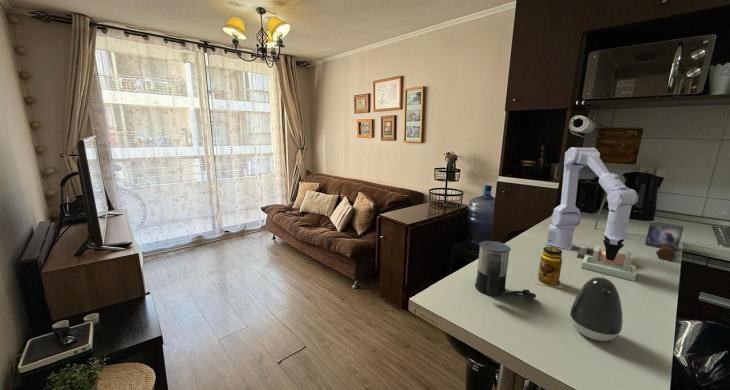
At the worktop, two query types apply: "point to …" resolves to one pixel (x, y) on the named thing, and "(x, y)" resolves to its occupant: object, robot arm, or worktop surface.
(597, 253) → the fuse
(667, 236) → the picture frame
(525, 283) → the worktop surface
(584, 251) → the frame
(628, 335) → the worktop surface
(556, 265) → the condiment
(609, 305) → the dark grey egg dome
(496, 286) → the milk frother
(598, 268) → the parts tray
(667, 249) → the brown elongated lump
